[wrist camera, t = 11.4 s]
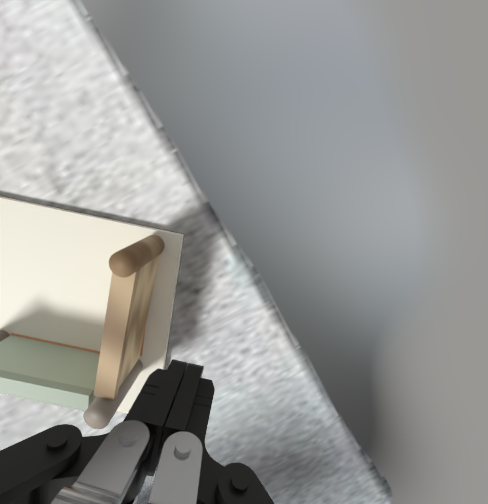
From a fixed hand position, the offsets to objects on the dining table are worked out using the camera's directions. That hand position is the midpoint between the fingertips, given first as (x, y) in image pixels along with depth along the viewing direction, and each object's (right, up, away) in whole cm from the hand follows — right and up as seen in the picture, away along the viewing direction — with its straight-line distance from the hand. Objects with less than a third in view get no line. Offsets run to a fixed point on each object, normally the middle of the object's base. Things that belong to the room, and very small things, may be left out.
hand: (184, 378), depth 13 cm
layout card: (-13, 0, +14) cm, 20 cm away
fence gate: (-6, +2, +12) cm, 14 cm away
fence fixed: (-15, -4, +15) cm, 22 cm away
